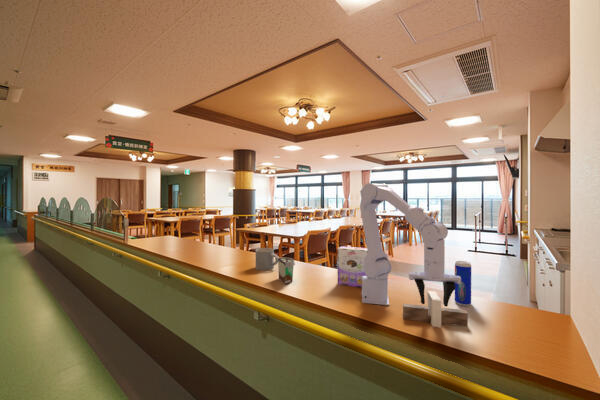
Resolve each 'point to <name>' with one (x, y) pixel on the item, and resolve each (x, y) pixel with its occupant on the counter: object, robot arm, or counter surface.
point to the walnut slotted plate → (422, 314)
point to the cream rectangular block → (434, 308)
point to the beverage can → (463, 283)
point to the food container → (285, 269)
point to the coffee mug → (265, 259)
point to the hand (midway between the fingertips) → (433, 304)
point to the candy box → (351, 265)
